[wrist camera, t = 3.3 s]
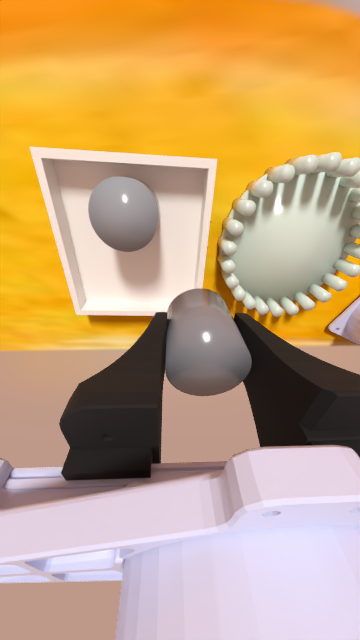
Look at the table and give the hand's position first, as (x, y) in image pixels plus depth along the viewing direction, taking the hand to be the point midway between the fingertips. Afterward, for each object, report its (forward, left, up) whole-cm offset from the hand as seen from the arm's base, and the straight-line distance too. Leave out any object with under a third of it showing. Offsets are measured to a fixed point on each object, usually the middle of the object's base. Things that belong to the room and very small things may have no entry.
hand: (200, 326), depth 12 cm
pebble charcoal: (0, 0, -1) cm, 1 cm away
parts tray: (+5, 0, -9) cm, 10 cm away
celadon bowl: (-7, -6, -9) cm, 13 cm away
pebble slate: (+6, -3, -8) cm, 11 cm away
